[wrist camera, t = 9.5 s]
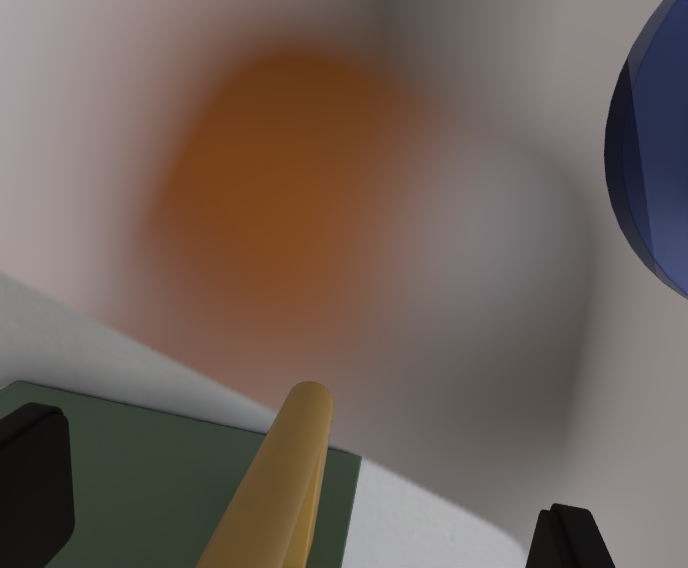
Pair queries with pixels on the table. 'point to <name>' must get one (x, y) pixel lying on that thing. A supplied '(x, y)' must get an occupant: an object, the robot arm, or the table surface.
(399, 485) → the table surface
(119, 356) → the table surface
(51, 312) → the table surface
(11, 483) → the robot arm
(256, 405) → the table surface
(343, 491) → the cupboard door
